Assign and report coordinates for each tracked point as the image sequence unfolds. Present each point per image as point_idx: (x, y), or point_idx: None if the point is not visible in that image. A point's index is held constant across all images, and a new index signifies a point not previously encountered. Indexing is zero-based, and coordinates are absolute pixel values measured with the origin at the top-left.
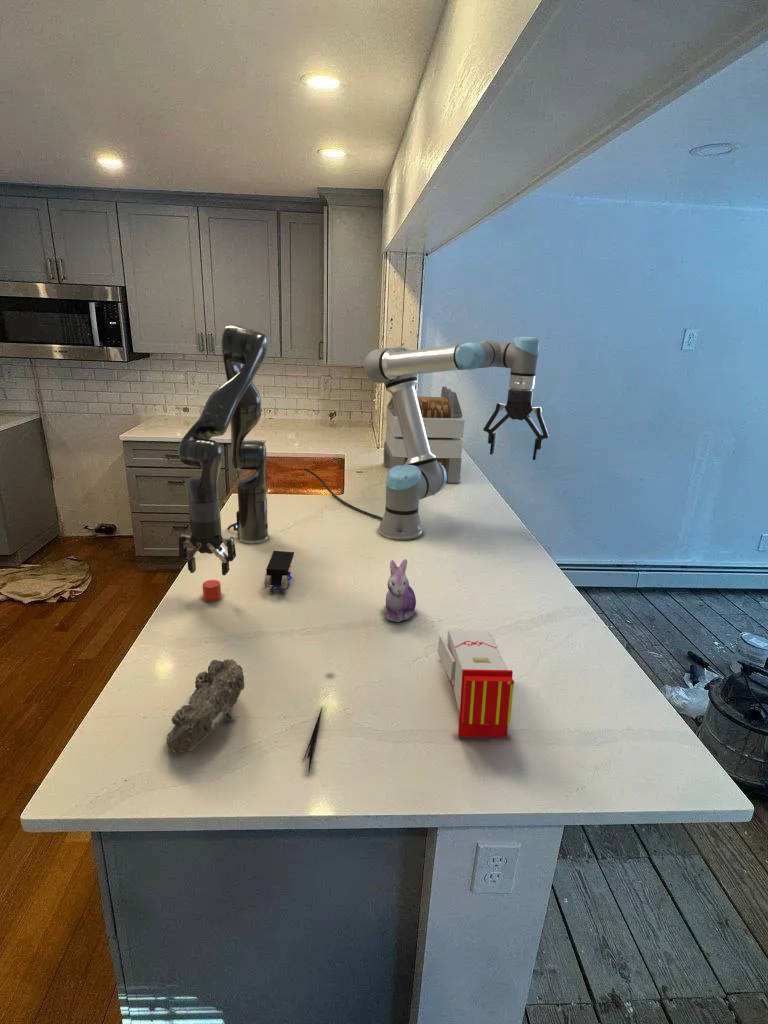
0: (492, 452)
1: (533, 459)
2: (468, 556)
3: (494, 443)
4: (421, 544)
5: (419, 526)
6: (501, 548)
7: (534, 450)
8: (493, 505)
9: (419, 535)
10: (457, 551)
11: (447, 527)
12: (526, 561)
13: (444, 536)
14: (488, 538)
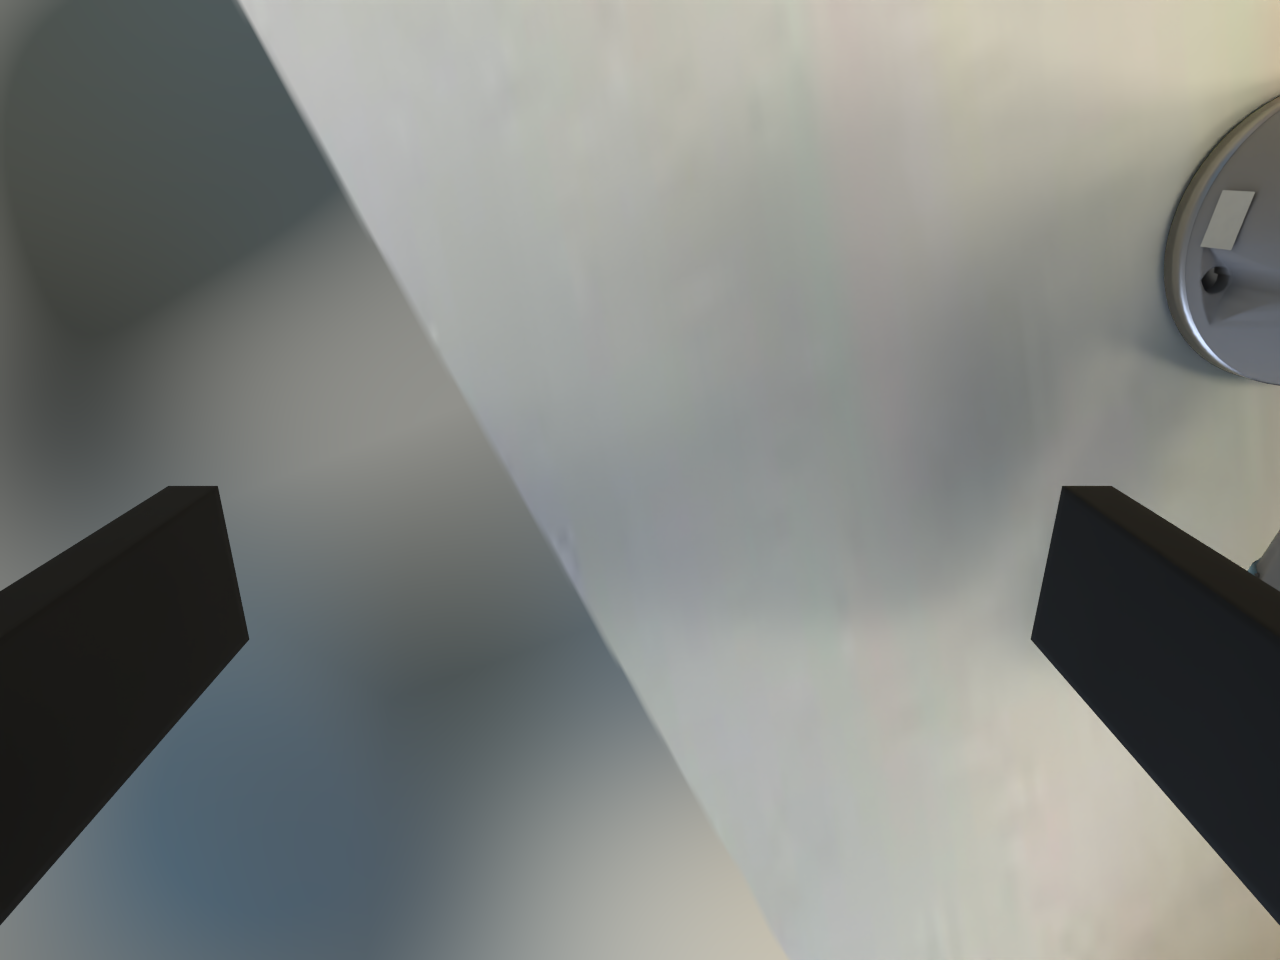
0: (1078, 527)
1: (194, 491)
2: (813, 34)
3: (1159, 753)
4: (1148, 90)
5: (1230, 225)
6: (636, 280)
7: (62, 579)
8: (790, 890)
9: (1182, 210)
10: (896, 87)
11: (1007, 463)
12: (452, 140)
13: (1009, 307)
14: (739, 404)
